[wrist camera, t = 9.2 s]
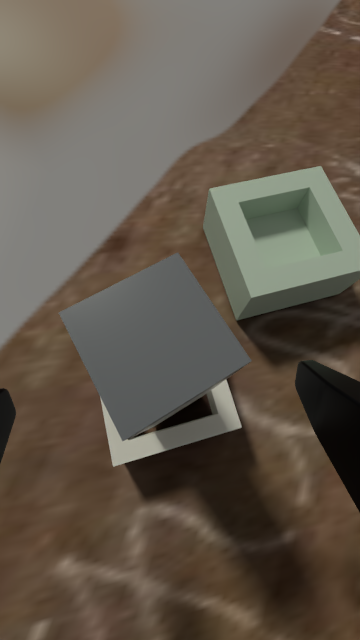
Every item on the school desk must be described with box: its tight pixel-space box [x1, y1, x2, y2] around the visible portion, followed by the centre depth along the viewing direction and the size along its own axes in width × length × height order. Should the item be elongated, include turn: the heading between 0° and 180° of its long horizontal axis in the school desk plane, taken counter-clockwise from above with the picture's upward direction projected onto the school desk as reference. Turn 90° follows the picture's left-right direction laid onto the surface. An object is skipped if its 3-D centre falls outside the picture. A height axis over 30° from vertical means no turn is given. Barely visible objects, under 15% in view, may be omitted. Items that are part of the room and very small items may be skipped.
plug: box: [59, 253, 251, 441], centre depth 13 cm, size 4×4×12 cm
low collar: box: [100, 380, 242, 467], centre depth 17 cm, size 7×7×2 cm
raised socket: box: [203, 166, 360, 321], centre depth 20 cm, size 8×8×4 cm
